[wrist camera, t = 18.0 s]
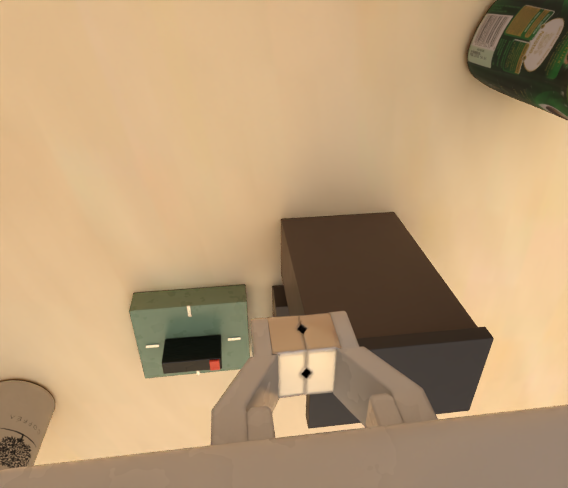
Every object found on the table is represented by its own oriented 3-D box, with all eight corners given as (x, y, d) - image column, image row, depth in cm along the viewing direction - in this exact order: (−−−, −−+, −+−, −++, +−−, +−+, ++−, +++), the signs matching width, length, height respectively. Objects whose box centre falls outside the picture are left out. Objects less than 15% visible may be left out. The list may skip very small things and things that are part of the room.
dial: (166, 349, 48) (163, 376, 45) (164, 338, 48) (161, 365, 44) (221, 345, 49) (222, 370, 46) (220, 334, 48) (221, 359, 45)
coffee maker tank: (278, 276, 49) (308, 428, 33) (277, 216, 45) (311, 355, 29) (388, 268, 50) (469, 410, 34) (397, 209, 46) (494, 338, 30)
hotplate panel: (148, 359, 53) (145, 380, 50) (133, 292, 47) (128, 311, 45) (248, 350, 54) (250, 370, 52) (245, 283, 49) (246, 301, 46)
